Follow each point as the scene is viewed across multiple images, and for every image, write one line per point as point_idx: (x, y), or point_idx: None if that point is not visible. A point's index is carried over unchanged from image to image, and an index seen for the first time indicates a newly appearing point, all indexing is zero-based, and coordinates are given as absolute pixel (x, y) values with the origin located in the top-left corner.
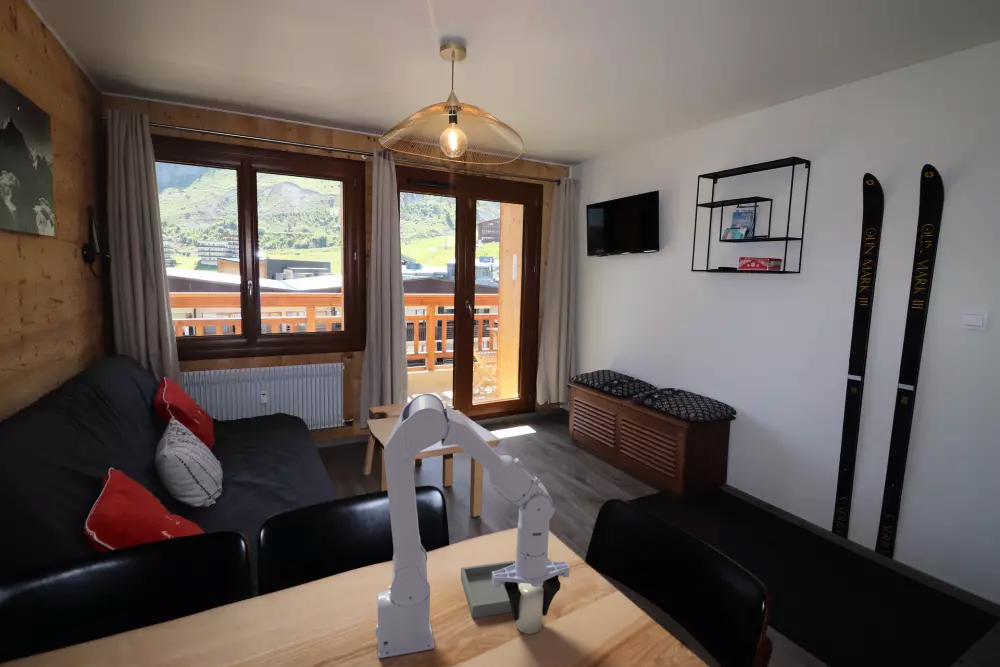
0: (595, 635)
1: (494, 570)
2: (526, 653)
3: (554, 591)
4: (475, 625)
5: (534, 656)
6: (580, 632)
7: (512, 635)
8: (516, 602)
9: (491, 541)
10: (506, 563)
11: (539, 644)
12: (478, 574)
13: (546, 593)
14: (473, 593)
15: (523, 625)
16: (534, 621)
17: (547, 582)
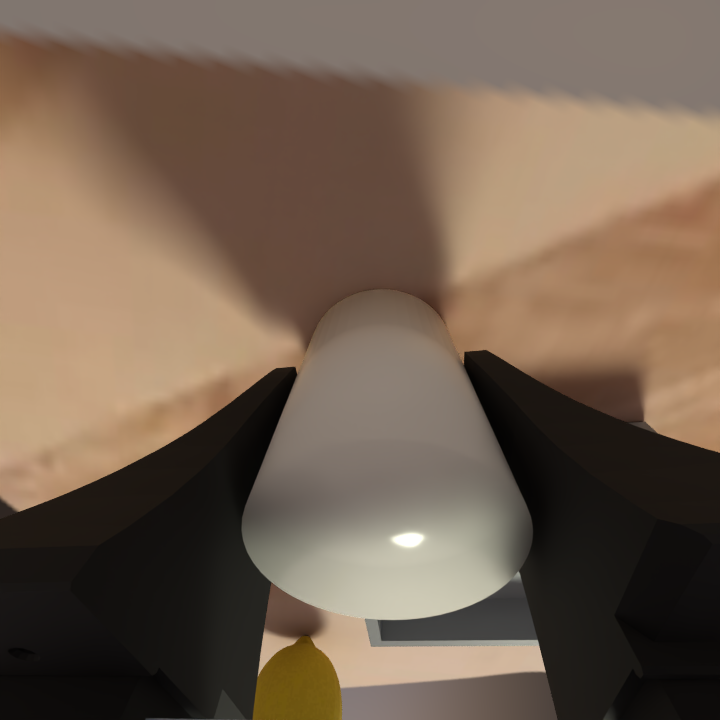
0: (17, 243)
1: (457, 611)
2: (449, 138)
3: (85, 503)
4: (652, 380)
5: (404, 102)
6: (105, 274)
7: (487, 295)
8: (574, 427)
9: (417, 681)
10: (410, 640)
11: (349, 209)
12: (523, 602)
13: (214, 491)
14: None
15: (432, 319)
16: (364, 319)
17: (126, 655)
